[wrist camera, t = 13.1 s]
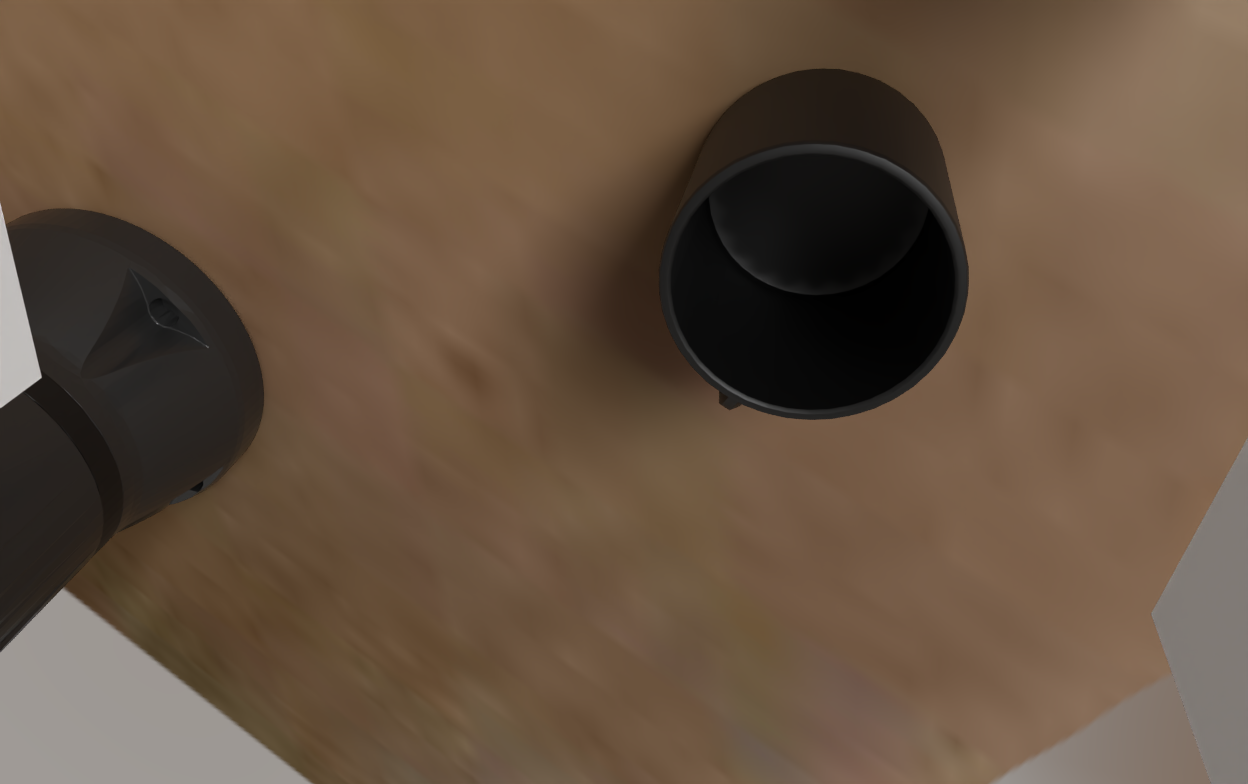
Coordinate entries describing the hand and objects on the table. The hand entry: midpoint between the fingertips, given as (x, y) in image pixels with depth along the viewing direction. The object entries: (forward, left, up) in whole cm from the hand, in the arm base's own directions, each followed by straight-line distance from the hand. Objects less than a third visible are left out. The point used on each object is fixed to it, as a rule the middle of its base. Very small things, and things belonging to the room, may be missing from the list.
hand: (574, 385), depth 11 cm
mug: (+3, -9, -29) cm, 30 cm away
